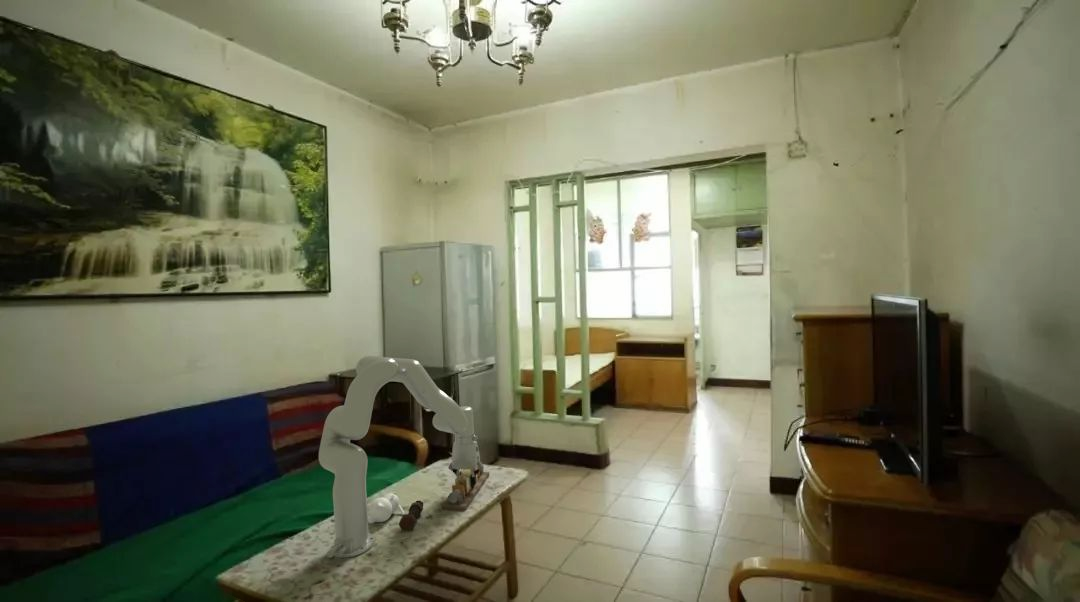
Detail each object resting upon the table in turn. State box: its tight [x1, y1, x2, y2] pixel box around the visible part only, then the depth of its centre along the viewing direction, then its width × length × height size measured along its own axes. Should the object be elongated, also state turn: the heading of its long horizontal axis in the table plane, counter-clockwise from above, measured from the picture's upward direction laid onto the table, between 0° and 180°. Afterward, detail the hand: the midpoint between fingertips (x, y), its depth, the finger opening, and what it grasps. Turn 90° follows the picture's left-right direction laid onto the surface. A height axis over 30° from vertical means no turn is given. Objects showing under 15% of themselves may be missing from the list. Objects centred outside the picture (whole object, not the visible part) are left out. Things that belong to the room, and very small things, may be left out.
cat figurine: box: [368, 491, 405, 525], centre depth 156 cm, size 9×11×12 cm
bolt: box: [398, 500, 424, 532], centre depth 154 cm, size 6×5×15 cm
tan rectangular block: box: [454, 468, 478, 494], centre depth 174 cm, size 4×13×6 cm, turn 170°
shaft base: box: [441, 466, 490, 511], centre depth 175 cm, size 30×9×6 cm, turn 171°
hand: (467, 485), depth 174 cm, fingers closed on tan rectangular block, 4 cm apart
